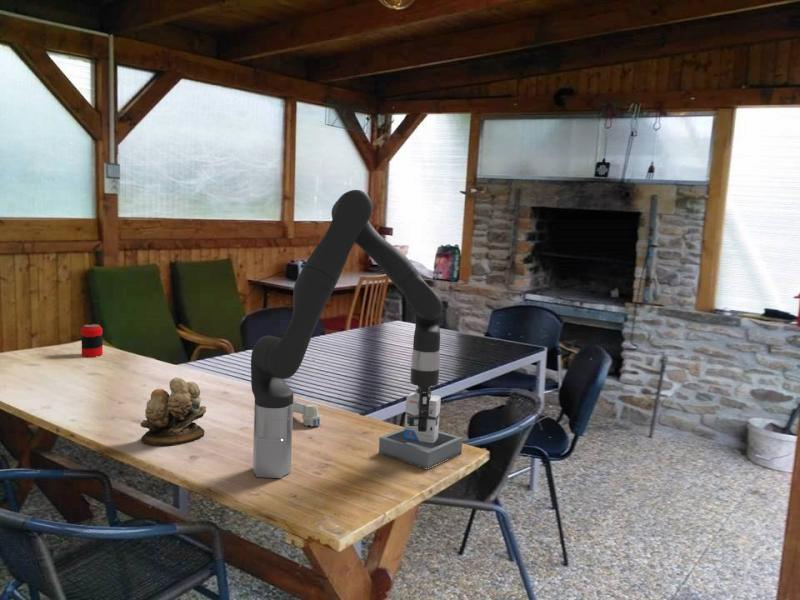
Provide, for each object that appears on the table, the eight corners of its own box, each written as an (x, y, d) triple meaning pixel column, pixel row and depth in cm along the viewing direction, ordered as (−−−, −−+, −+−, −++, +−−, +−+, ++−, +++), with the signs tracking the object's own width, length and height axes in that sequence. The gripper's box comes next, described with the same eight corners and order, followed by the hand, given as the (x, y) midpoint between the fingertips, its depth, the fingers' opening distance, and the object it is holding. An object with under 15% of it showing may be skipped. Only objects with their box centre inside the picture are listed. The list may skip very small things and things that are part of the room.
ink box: (403, 439, 188) (405, 396, 186) (408, 433, 192) (410, 391, 191) (434, 443, 185) (436, 400, 183) (438, 438, 190) (441, 395, 188)
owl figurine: (195, 426, 202) (196, 368, 199) (215, 438, 193) (217, 377, 191) (133, 437, 190) (134, 376, 187) (151, 450, 181) (152, 386, 179)
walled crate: (461, 453, 191) (462, 438, 190) (427, 469, 178) (428, 452, 177) (414, 439, 200) (415, 424, 200) (378, 453, 188) (379, 437, 187)
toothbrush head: (281, 392, 226) (324, 402, 207) (282, 413, 227) (325, 424, 207) (267, 395, 223) (309, 404, 204) (267, 416, 223) (310, 427, 204)
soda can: (99, 352, 282) (98, 323, 280) (105, 356, 276) (105, 326, 275) (79, 354, 277) (78, 324, 276) (85, 358, 272) (84, 327, 270)
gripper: (441, 373, 179) (437, 437, 181) (437, 360, 193) (434, 419, 195) (411, 372, 179) (408, 435, 181) (410, 359, 193) (407, 418, 195)
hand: (421, 427), depth 188 cm, fingers closed on ink box, 6 cm apart
